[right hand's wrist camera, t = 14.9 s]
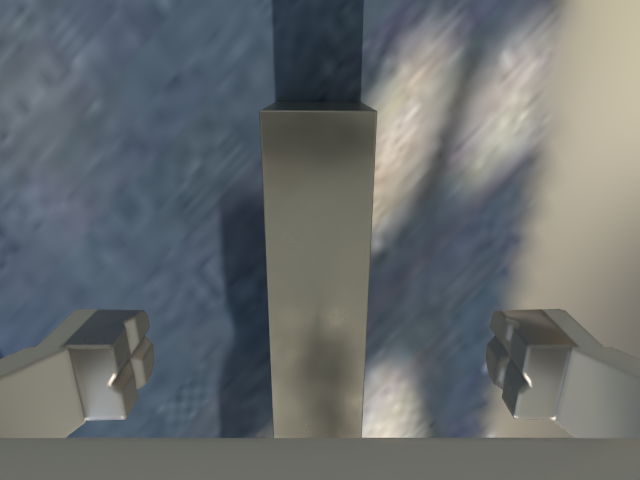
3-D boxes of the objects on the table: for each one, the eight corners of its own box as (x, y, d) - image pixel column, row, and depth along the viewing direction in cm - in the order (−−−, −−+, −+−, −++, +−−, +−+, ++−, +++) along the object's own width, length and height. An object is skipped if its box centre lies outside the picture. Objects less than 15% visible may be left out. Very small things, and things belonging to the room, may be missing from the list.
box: (276, 101, 30) (259, 109, 21) (360, 101, 30) (377, 110, 21) (284, 374, 38) (274, 461, 29) (351, 374, 38) (360, 461, 29)
